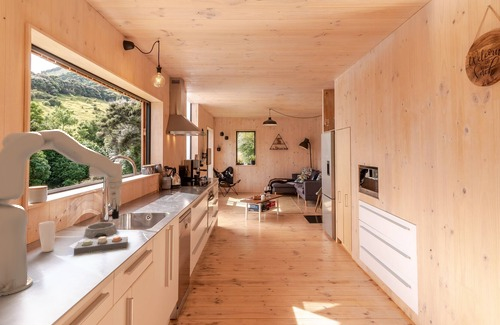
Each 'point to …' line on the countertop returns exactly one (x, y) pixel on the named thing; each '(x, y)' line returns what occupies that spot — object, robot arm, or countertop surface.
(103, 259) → the countertop surface
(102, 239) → the cream button
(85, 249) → the button panel
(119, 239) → the terracotta button
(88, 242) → the sage button
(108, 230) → the dog bowl
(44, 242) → the drinking glass
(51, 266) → the countertop surface
